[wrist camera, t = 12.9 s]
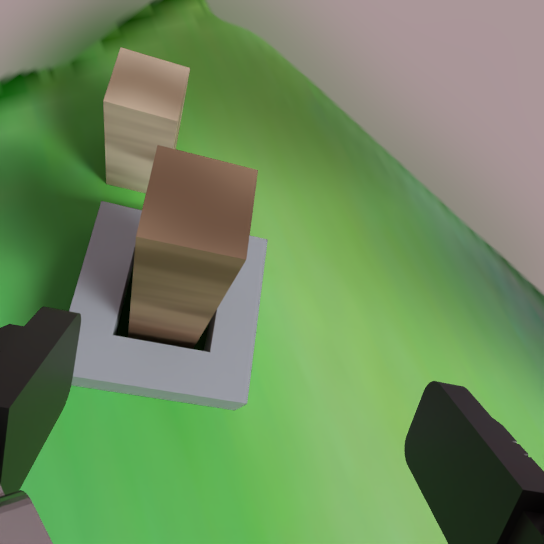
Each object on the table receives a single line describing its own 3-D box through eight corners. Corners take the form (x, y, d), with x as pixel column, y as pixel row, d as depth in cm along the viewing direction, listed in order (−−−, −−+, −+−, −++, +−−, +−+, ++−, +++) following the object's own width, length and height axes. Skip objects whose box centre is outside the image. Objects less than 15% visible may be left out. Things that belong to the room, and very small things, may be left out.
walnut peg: (140, 280, 30) (157, 144, 18) (201, 292, 31) (257, 170, 19) (127, 340, 29) (136, 236, 16) (192, 350, 30) (246, 259, 17)
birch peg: (119, 137, 34) (120, 47, 27) (175, 152, 34) (190, 68, 27) (106, 183, 32) (103, 100, 25) (164, 197, 33) (177, 121, 26)
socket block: (102, 224, 31) (101, 200, 28) (255, 258, 33) (267, 239, 30) (57, 383, 27) (50, 372, 24) (235, 410, 29) (247, 403, 26)
